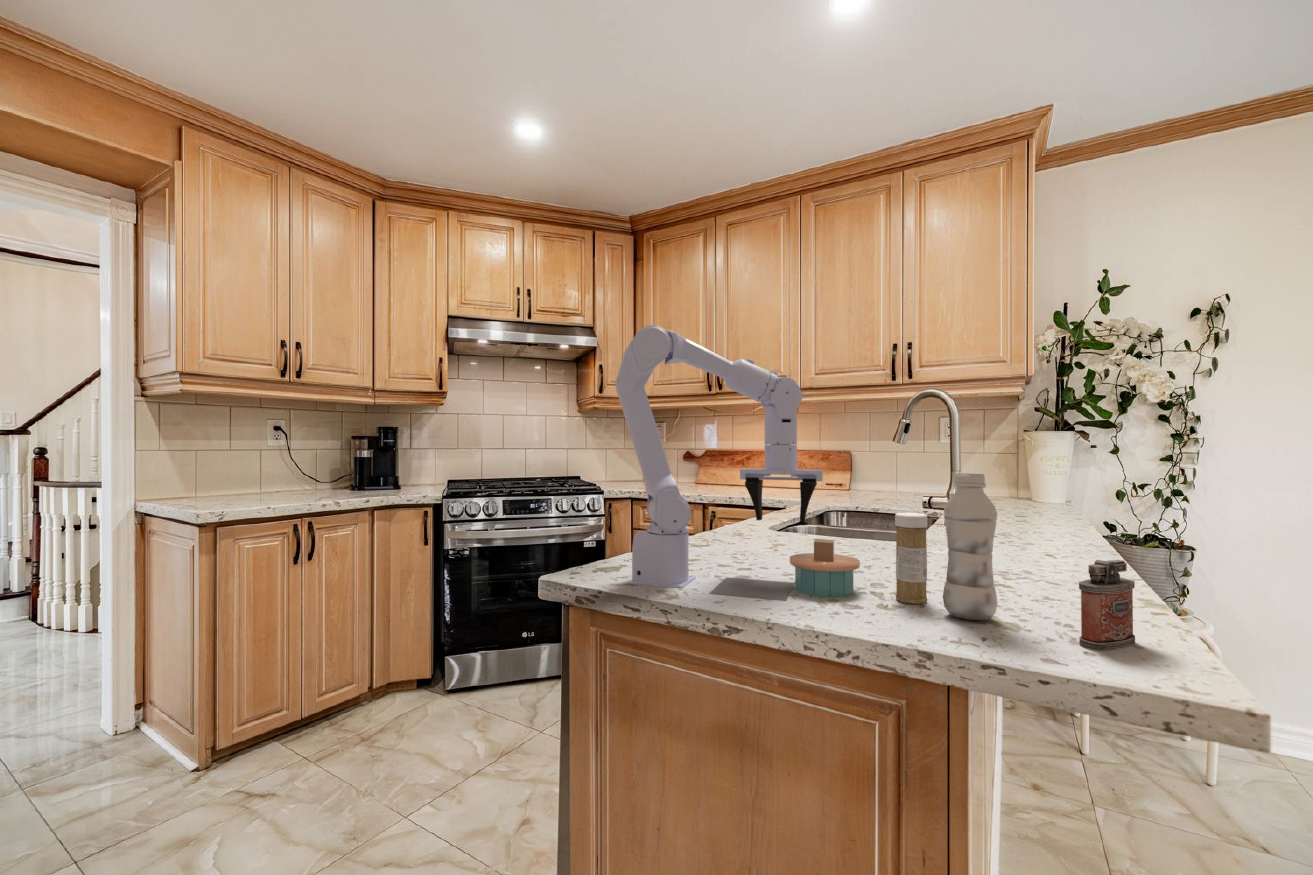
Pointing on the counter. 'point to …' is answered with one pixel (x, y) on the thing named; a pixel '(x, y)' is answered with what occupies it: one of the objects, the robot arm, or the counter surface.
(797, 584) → the bowl
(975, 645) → the counter surface
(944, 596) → the plastic bottle
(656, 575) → the robot arm
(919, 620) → the counter surface
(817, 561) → the lid
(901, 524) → the sprinkles bottle
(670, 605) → the counter surface
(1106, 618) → the lighter
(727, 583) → the mat
